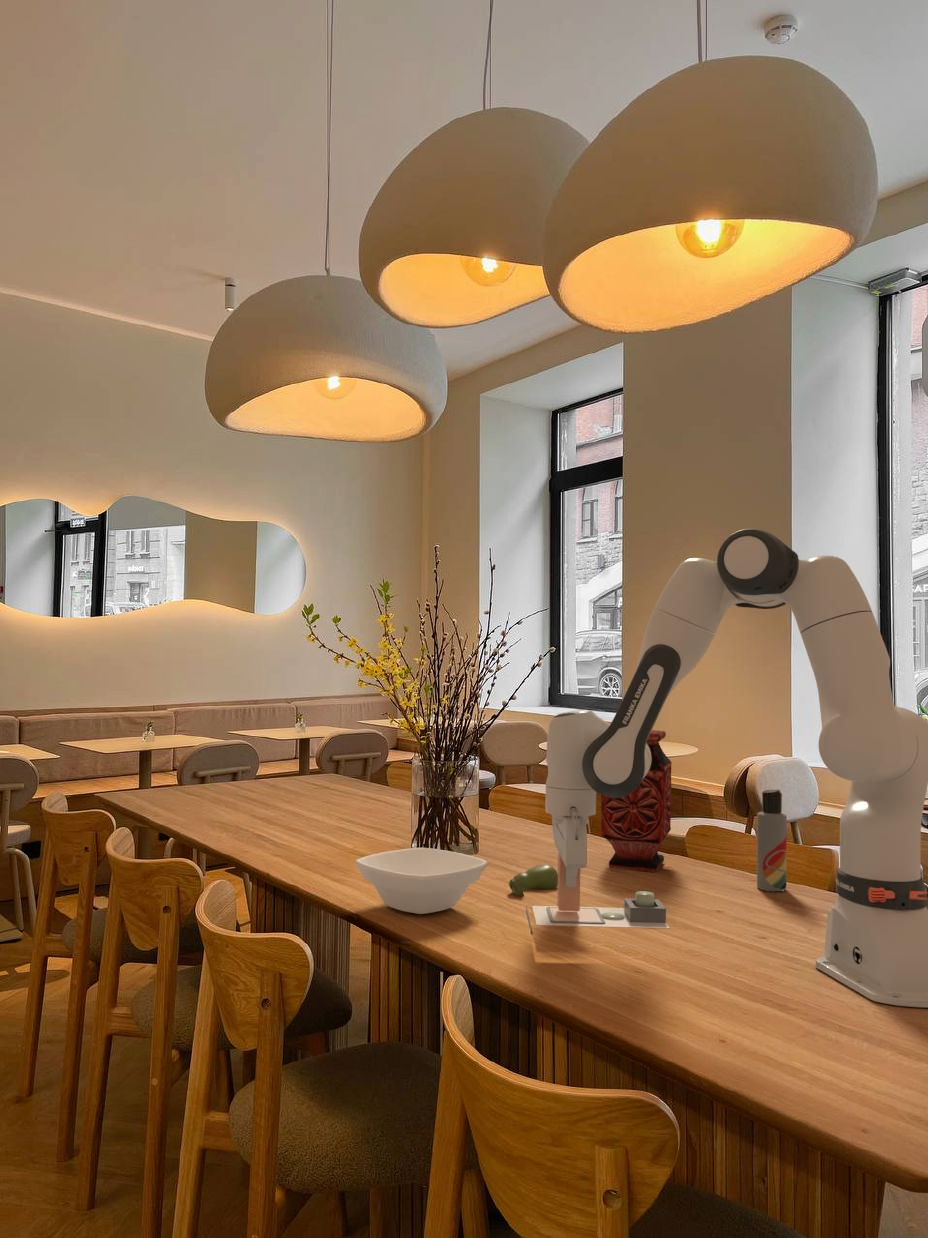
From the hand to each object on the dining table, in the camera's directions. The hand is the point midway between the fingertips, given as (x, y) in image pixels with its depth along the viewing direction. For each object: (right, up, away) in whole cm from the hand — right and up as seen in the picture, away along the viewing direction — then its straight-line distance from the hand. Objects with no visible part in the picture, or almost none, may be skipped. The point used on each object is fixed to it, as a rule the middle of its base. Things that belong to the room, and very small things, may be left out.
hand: (569, 882), depth 159 cm
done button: (+13, -4, -1) cm, 14 cm away
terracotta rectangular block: (0, -4, 0) cm, 4 cm away
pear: (-5, -8, +19) cm, 21 cm away
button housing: (+13, -6, -2) cm, 14 cm away
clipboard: (+5, -7, -2) cm, 8 cm away
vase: (+20, -9, +45) cm, 50 cm away
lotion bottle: (+44, -9, +26) cm, 52 cm away
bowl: (-26, -7, +6) cm, 28 cm away
